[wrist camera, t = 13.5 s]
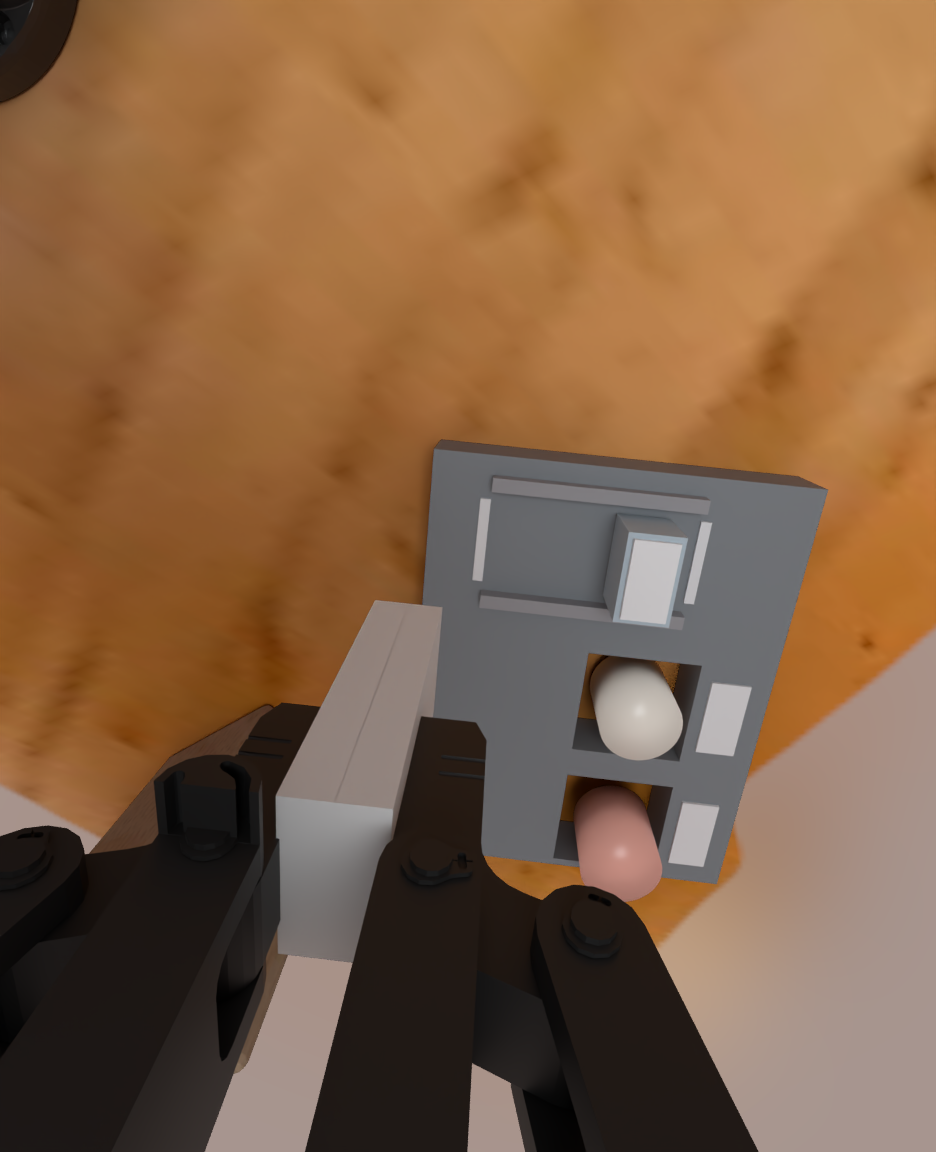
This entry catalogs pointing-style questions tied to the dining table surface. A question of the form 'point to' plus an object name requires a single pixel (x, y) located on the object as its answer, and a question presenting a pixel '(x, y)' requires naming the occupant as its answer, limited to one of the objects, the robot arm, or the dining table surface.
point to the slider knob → (644, 570)
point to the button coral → (616, 843)
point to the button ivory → (635, 708)
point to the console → (608, 632)
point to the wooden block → (143, 829)
